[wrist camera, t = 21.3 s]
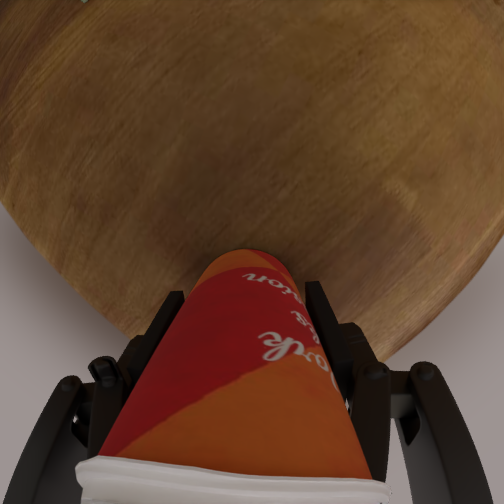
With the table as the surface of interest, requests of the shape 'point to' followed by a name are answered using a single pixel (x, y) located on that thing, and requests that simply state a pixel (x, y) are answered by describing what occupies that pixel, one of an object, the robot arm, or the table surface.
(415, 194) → the table surface
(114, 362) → the robot arm
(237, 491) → the coffee cup
